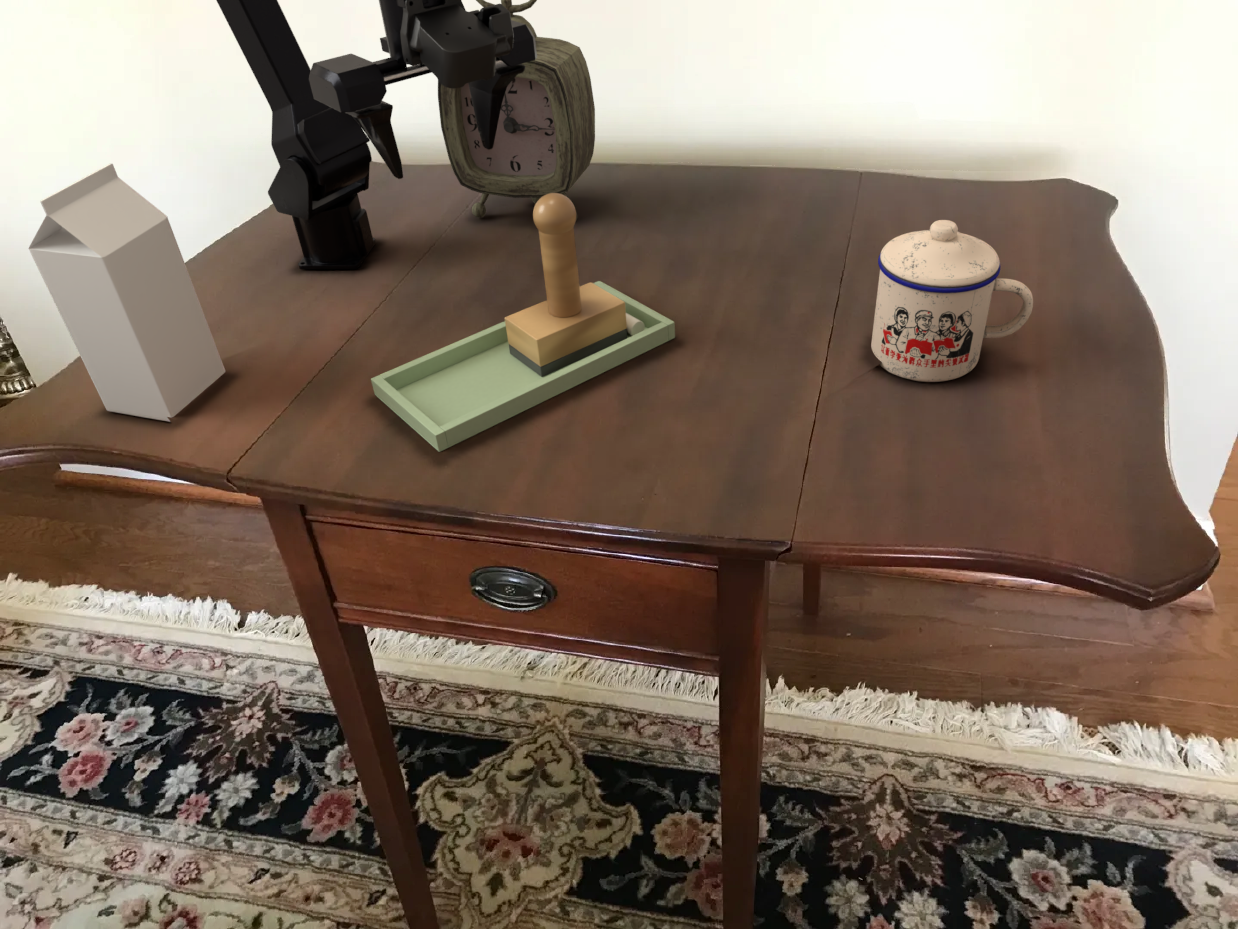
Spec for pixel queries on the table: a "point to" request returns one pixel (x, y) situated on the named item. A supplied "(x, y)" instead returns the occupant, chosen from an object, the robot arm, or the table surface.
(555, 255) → the wooden rubber stamp
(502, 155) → the tabletop clock
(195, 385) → the milk carton
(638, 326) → the chalk
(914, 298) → the teacup with lid
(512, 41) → the robot arm
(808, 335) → the table surface
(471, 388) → the tray
